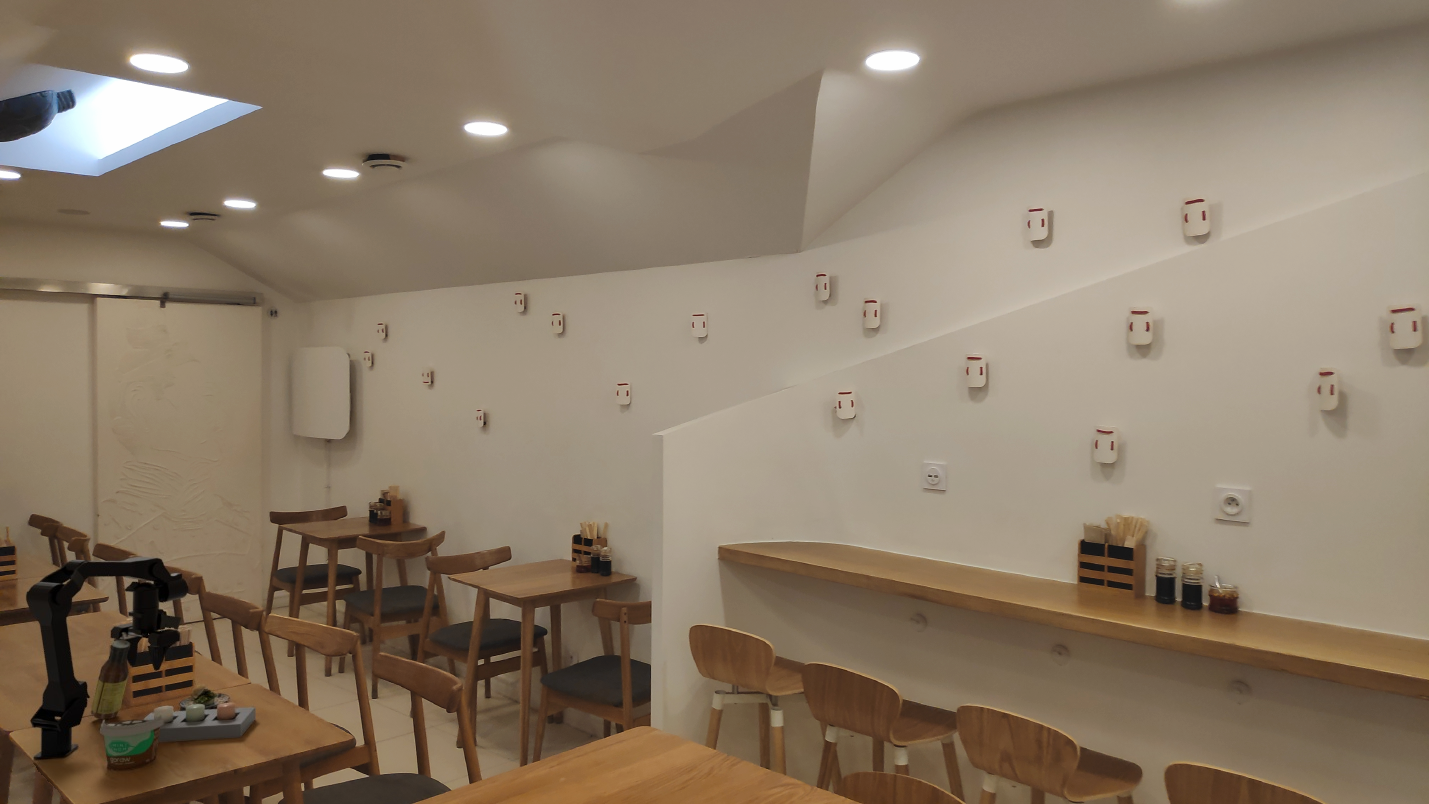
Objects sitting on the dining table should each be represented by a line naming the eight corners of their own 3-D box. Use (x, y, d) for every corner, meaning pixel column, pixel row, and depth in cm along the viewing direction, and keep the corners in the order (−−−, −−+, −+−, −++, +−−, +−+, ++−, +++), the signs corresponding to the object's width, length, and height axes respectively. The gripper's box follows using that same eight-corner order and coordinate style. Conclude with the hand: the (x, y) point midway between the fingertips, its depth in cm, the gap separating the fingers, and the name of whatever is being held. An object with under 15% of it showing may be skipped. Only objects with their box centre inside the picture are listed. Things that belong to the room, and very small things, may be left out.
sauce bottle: (124, 712, 230) (144, 644, 227) (105, 723, 223) (125, 653, 220) (102, 702, 230) (121, 634, 227) (82, 713, 224) (101, 643, 221)
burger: (208, 716, 229) (208, 687, 229) (167, 713, 231) (167, 684, 231) (240, 700, 241) (240, 673, 241) (201, 698, 243) (201, 670, 243)
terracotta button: (232, 719, 218) (232, 707, 218) (214, 720, 217) (214, 708, 217) (237, 713, 222) (237, 701, 222) (220, 714, 221) (220, 702, 221)
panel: (240, 737, 215) (240, 723, 215) (129, 743, 210) (130, 730, 210) (255, 719, 227) (255, 706, 227) (150, 725, 222) (151, 712, 222)
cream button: (169, 723, 215) (169, 710, 215) (151, 724, 215) (151, 711, 215) (175, 717, 219) (175, 705, 219) (157, 718, 219) (158, 706, 219)
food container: (89, 775, 193) (90, 729, 193) (101, 763, 199) (101, 719, 199) (154, 769, 196) (154, 724, 196) (163, 758, 202) (163, 714, 202)
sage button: (201, 721, 217) (201, 709, 217) (183, 722, 216) (183, 710, 216) (206, 715, 221) (207, 703, 221) (189, 716, 220) (189, 704, 220)
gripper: (200, 604, 230) (199, 664, 230) (152, 596, 238) (151, 655, 237) (158, 613, 220) (157, 676, 220) (109, 605, 227) (108, 666, 227)
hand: (144, 667), depth 226 cm, fingers open, 9 cm apart
